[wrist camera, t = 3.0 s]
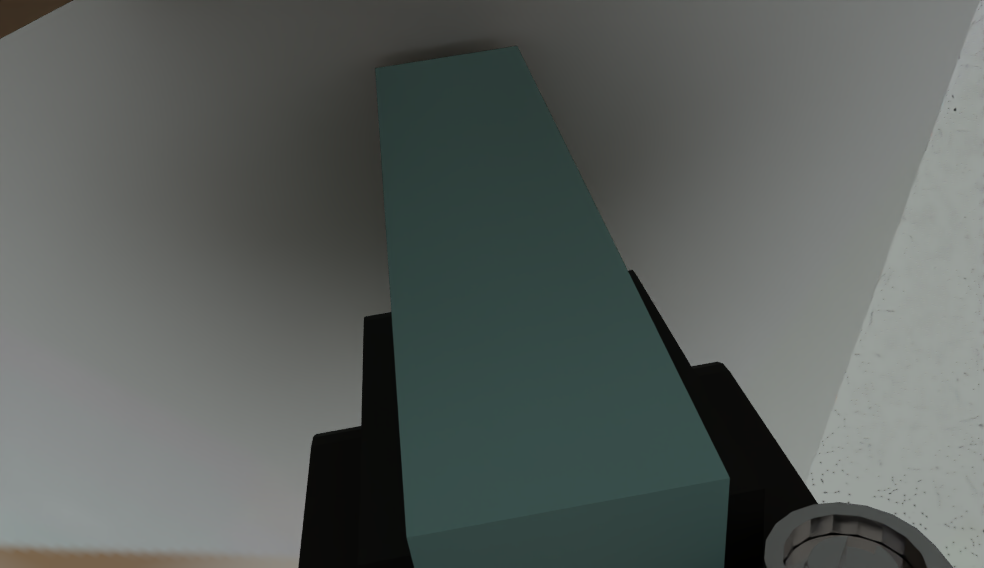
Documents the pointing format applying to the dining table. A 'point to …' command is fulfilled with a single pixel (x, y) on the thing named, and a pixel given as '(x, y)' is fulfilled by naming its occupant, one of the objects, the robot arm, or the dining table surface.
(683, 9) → the dining table surface
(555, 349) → the domino
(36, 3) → the domino
